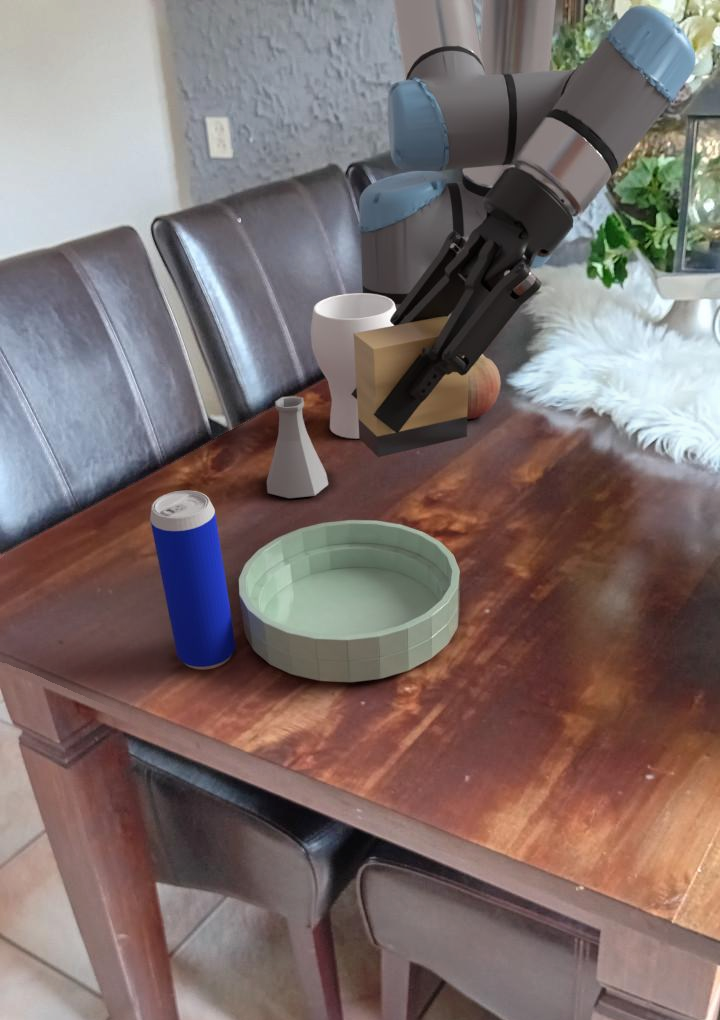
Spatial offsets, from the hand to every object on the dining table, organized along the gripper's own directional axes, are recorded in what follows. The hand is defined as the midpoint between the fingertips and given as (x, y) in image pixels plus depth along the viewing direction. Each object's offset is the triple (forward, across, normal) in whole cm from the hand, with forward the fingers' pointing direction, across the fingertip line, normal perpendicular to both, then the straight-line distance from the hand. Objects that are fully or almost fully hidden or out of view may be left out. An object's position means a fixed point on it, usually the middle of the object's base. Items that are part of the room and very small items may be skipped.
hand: (374, 413), depth 90 cm
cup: (+4, +30, -18) cm, 36 cm away
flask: (+12, +19, -10) cm, 25 cm away
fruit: (-6, +27, -28) cm, 39 cm away
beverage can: (+25, -8, +3) cm, 26 cm away
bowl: (+16, -8, -6) cm, 19 cm away
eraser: (0, 0, -5) cm, 5 cm away
